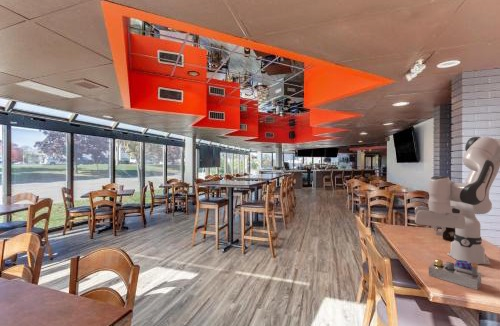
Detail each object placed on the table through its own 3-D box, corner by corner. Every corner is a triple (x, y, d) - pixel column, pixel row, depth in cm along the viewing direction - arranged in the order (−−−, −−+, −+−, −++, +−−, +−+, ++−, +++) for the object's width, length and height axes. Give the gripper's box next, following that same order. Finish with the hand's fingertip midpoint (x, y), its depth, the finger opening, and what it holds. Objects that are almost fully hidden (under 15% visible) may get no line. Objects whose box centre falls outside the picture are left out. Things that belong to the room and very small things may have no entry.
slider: (473, 273, 114) (473, 262, 114) (477, 274, 113) (477, 263, 113) (472, 275, 112) (472, 264, 112) (476, 276, 111) (476, 265, 111)
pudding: (464, 266, 133) (464, 257, 133) (486, 277, 121) (486, 266, 121) (443, 267, 133) (443, 257, 133) (462, 277, 121) (462, 266, 121)
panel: (434, 270, 128) (434, 261, 128) (481, 283, 114) (481, 273, 114) (428, 275, 122) (428, 266, 122) (477, 290, 108) (477, 279, 108)
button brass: (436, 265, 125) (436, 258, 125) (443, 267, 123) (443, 260, 123) (434, 267, 123) (434, 260, 123) (441, 269, 121) (441, 262, 121)
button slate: (447, 268, 122) (447, 261, 122) (454, 270, 119) (454, 263, 119) (445, 270, 120) (445, 263, 120) (453, 272, 117) (453, 265, 117)
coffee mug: (455, 239, 180) (455, 225, 180) (457, 242, 173) (457, 228, 173) (435, 236, 186) (435, 223, 186) (436, 239, 179) (436, 226, 179)
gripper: (415, 207, 125) (415, 233, 125) (467, 210, 116) (466, 239, 116) (413, 205, 130) (413, 230, 130) (462, 208, 121) (462, 236, 121)
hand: (438, 235), depth 123 cm, fingers closed
